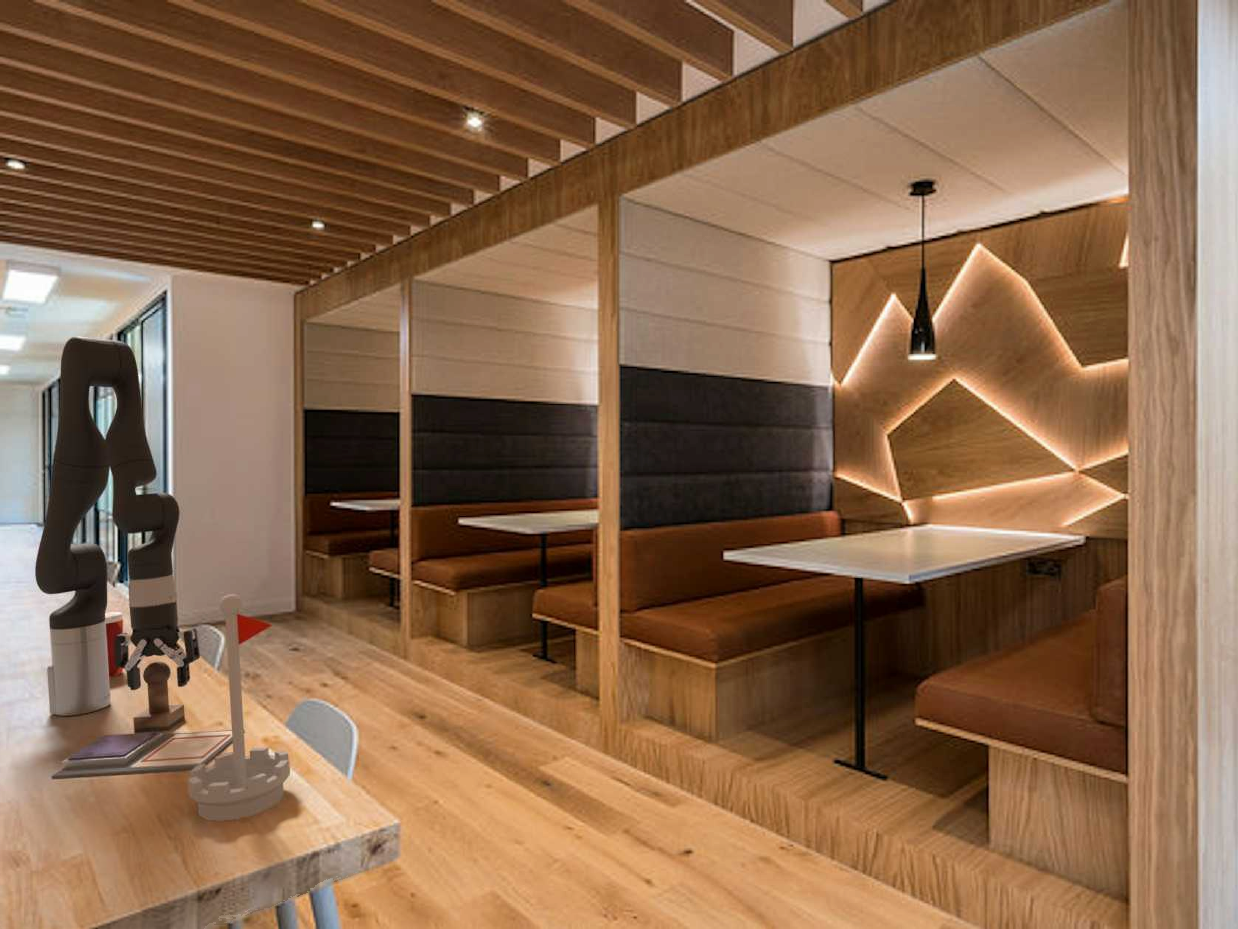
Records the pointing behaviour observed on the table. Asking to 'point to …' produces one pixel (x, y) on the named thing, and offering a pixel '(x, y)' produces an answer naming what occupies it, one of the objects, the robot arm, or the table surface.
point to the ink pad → (112, 750)
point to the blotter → (165, 755)
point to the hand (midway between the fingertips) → (159, 687)
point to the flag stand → (238, 745)
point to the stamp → (158, 702)
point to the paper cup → (113, 629)
